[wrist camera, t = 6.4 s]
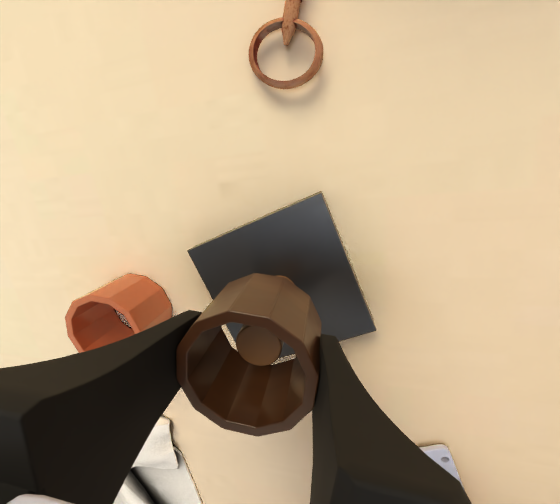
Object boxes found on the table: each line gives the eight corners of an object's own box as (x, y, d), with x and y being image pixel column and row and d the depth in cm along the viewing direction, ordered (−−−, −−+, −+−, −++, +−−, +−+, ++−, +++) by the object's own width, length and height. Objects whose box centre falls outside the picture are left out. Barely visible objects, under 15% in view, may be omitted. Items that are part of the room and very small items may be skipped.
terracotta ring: (184, 326, 21) (155, 357, 17) (130, 345, 22) (94, 377, 19) (149, 264, 20) (112, 284, 16) (95, 287, 21) (50, 310, 18)
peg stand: (373, 320, 18) (399, 407, 12) (252, 356, 21) (216, 445, 14) (321, 191, 16) (317, 205, 10) (195, 245, 19) (123, 287, 12)
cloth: (182, 395, 23) (166, 420, 20) (220, 570, 29) (211, 605, 26) (-18, 382, 26) (-51, 403, 24) (52, 540, 32) (31, 569, 30)
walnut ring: (336, 355, 13) (339, 420, 10) (241, 381, 15) (215, 445, 11) (293, 257, 12) (280, 292, 9) (195, 295, 14) (150, 337, 10)
